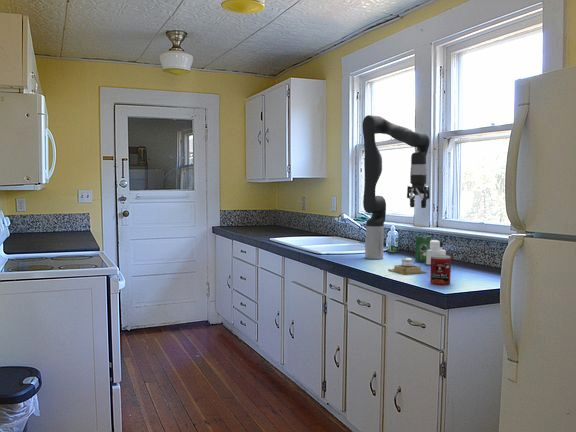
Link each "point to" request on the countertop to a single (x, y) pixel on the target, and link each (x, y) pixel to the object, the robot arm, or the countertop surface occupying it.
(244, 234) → the countertop surface
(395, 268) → the collar
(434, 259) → the canned food
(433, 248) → the medicine bottle
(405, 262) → the cylinder
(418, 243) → the coffee box
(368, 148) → the robot arm
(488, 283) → the countertop surface
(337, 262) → the countertop surface
